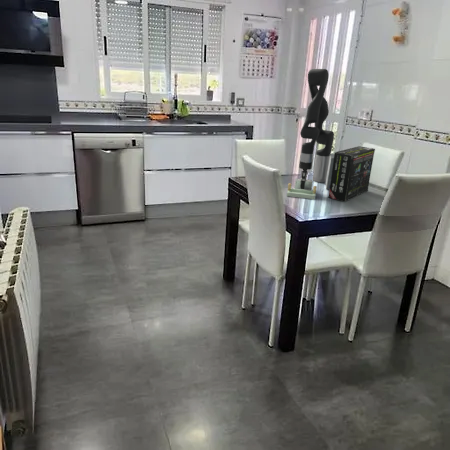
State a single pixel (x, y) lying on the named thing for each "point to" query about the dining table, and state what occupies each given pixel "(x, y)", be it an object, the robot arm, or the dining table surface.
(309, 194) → the tray
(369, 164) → the router box
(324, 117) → the robot arm
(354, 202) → the dining table surface
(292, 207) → the dining table surface
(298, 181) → the block
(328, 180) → the hard drive box
